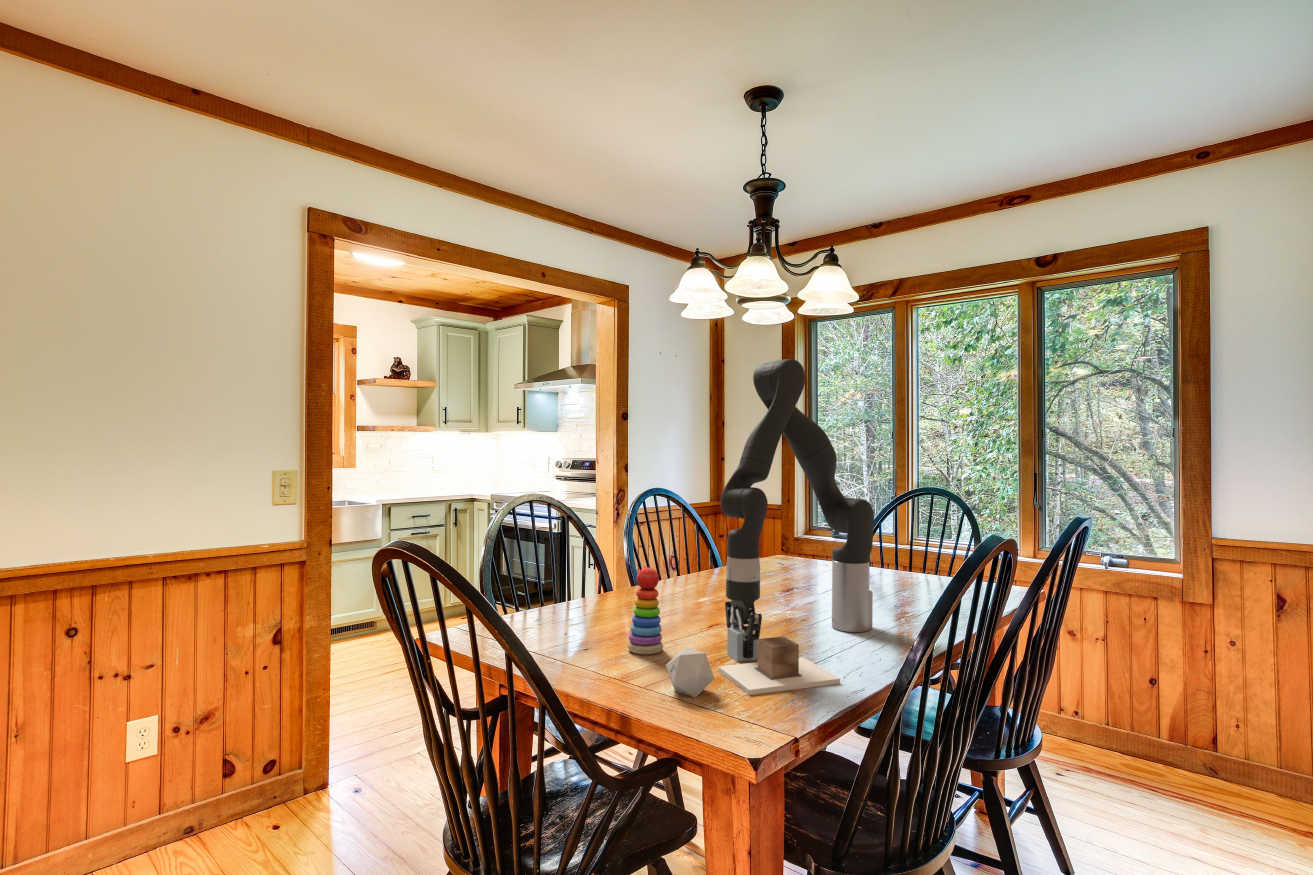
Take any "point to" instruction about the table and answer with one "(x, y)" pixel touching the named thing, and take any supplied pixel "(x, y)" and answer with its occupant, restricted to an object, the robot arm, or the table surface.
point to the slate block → (739, 645)
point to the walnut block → (778, 657)
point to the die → (690, 672)
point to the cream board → (777, 678)
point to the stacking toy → (646, 616)
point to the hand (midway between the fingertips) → (742, 653)
